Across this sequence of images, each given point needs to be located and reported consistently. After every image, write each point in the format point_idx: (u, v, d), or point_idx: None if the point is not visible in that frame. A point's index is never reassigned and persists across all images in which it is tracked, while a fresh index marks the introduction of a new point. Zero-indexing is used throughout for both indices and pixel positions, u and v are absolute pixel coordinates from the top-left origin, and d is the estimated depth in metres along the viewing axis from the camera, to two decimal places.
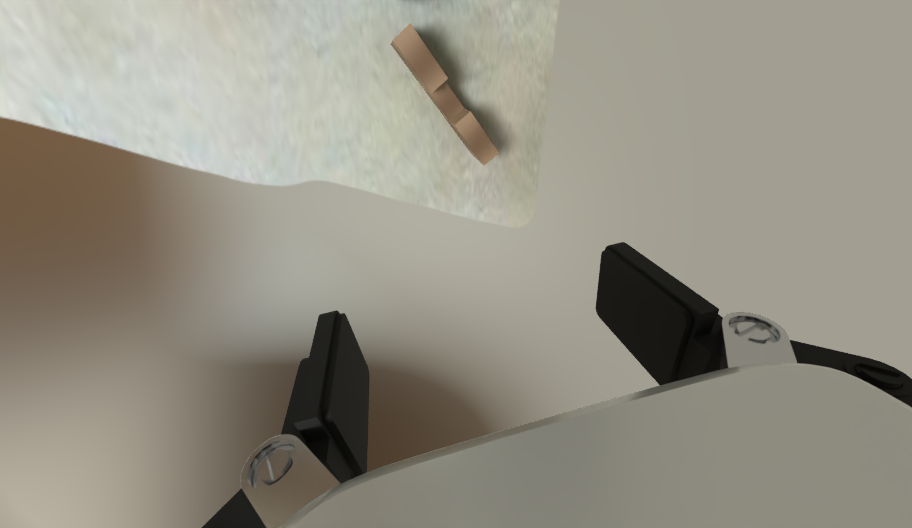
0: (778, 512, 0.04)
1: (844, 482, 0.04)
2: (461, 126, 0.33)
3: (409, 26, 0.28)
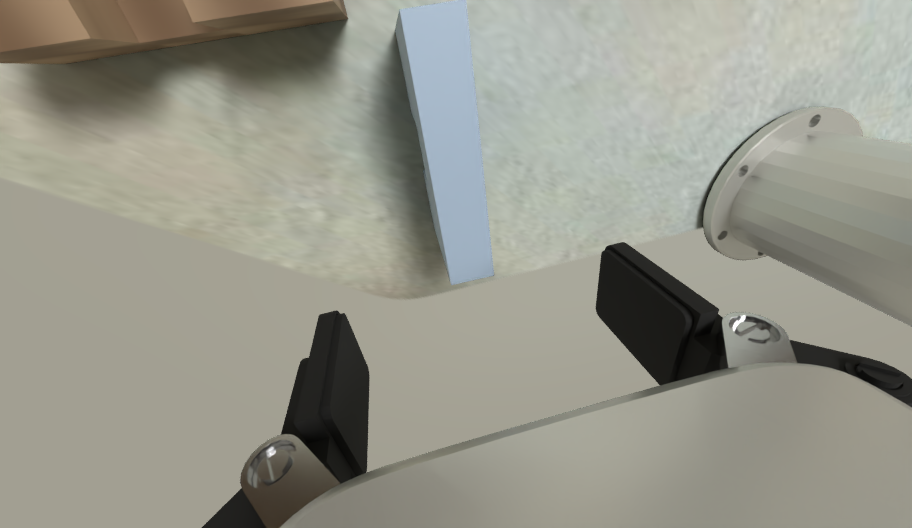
0: (778, 512, 0.04)
1: (844, 482, 0.04)
2: None
3: None
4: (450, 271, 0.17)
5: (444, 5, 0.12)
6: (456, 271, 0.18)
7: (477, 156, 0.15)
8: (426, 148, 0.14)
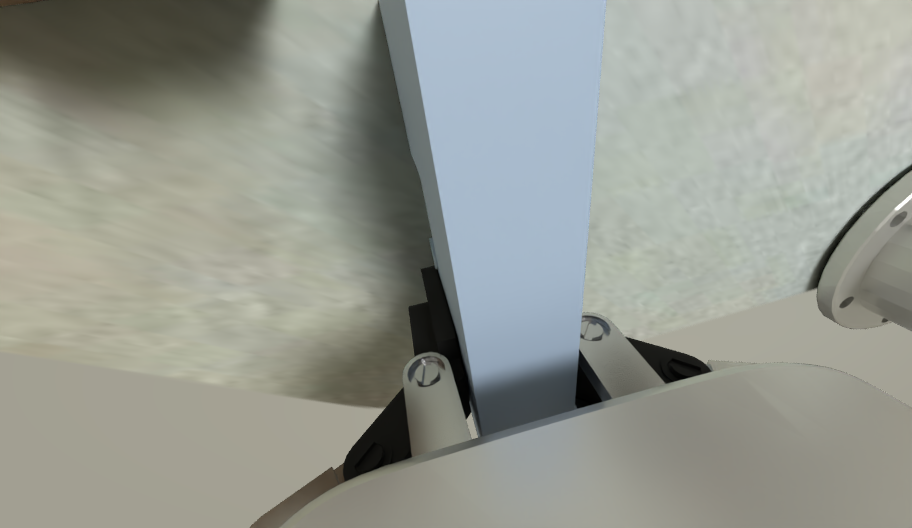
0: (778, 512, 0.04)
1: (844, 482, 0.04)
2: None
3: None
4: None
5: None
6: None
7: (574, 283, 0.06)
8: (456, 277, 0.06)
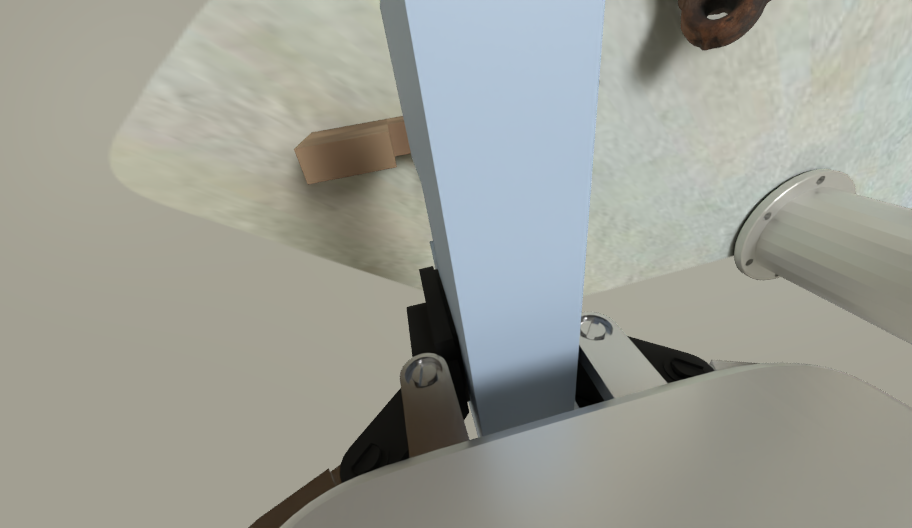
0: (778, 512, 0.04)
1: (844, 482, 0.04)
2: (381, 141, 0.19)
3: None
4: None
5: None
6: None
7: (573, 290, 0.06)
8: (457, 284, 0.06)
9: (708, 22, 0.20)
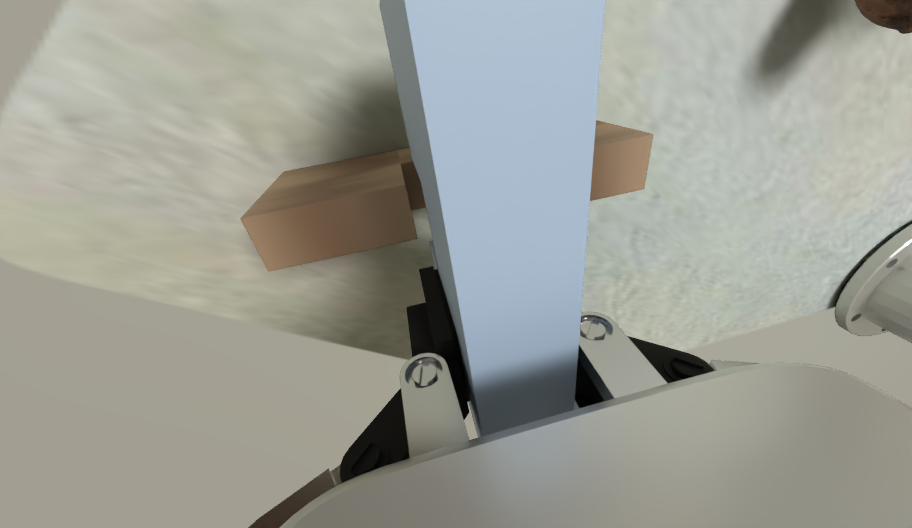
0: (778, 512, 0.04)
1: (844, 482, 0.04)
2: (393, 201, 0.11)
3: (641, 184, 0.12)
4: None
5: None
6: None
7: (573, 290, 0.06)
8: (457, 284, 0.06)
9: None
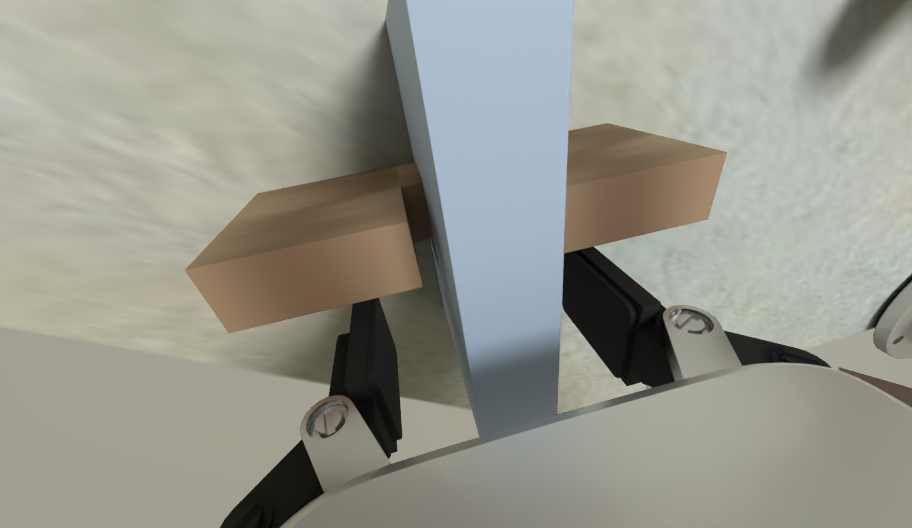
0: (778, 512, 0.04)
1: (844, 482, 0.04)
2: (391, 242, 0.08)
3: (705, 213, 0.10)
4: None
5: None
6: None
7: (554, 271, 0.07)
8: (453, 265, 0.07)
9: None
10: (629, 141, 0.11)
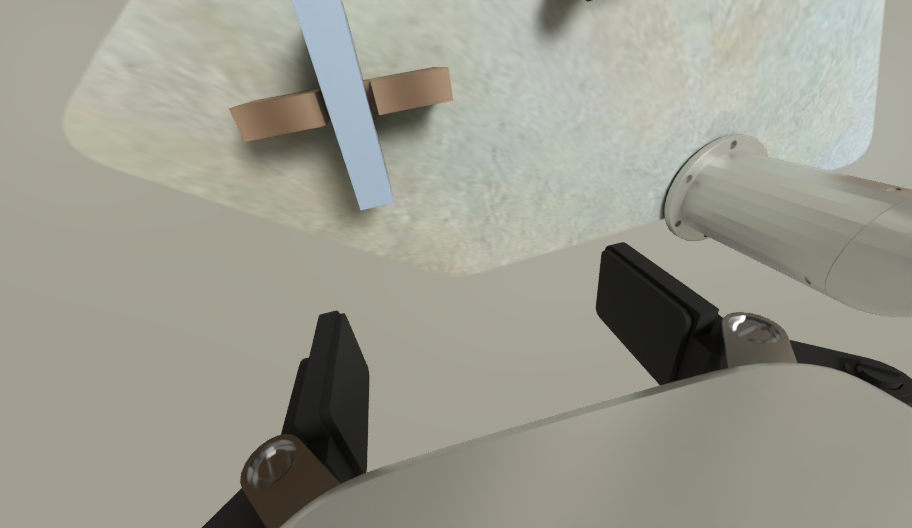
0: (778, 512, 0.04)
1: (844, 482, 0.04)
2: (309, 101, 0.21)
3: (450, 97, 0.23)
4: (358, 198, 0.23)
5: None
6: (363, 199, 0.23)
7: (364, 104, 0.20)
8: (324, 98, 0.20)
9: None
10: None
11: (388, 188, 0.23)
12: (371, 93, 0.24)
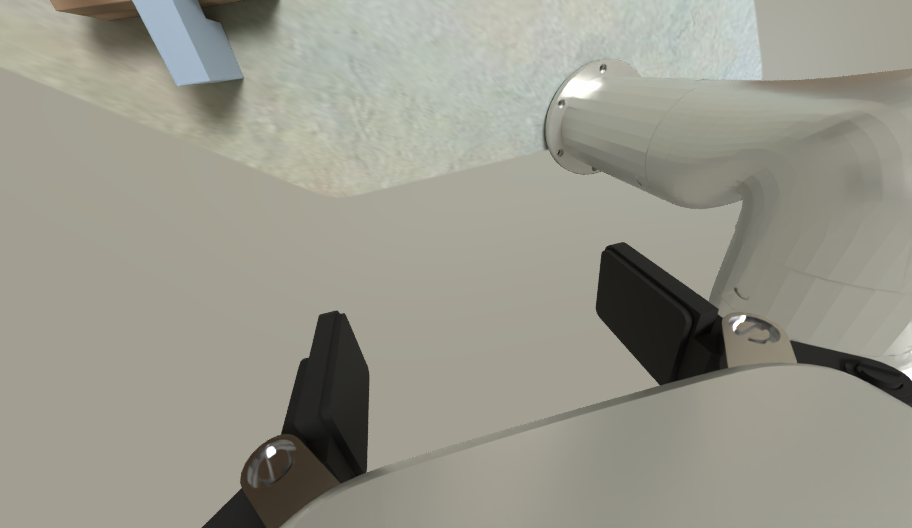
0: (778, 512, 0.04)
1: (844, 482, 0.04)
2: None
3: None
4: (171, 72, 0.24)
5: None
6: (176, 73, 0.24)
7: None
8: None
9: None
10: None
11: (200, 64, 0.24)
12: None
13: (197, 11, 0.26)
